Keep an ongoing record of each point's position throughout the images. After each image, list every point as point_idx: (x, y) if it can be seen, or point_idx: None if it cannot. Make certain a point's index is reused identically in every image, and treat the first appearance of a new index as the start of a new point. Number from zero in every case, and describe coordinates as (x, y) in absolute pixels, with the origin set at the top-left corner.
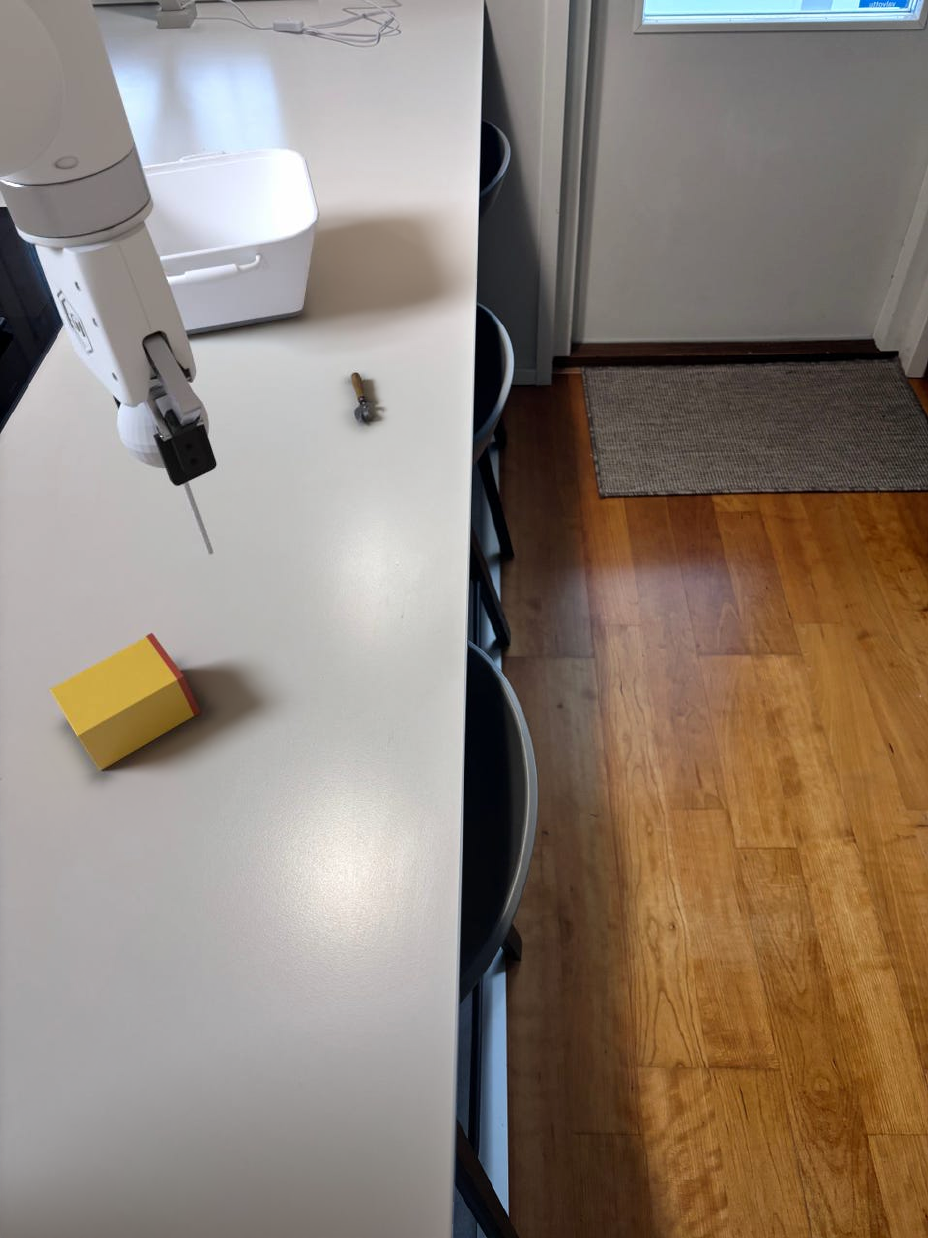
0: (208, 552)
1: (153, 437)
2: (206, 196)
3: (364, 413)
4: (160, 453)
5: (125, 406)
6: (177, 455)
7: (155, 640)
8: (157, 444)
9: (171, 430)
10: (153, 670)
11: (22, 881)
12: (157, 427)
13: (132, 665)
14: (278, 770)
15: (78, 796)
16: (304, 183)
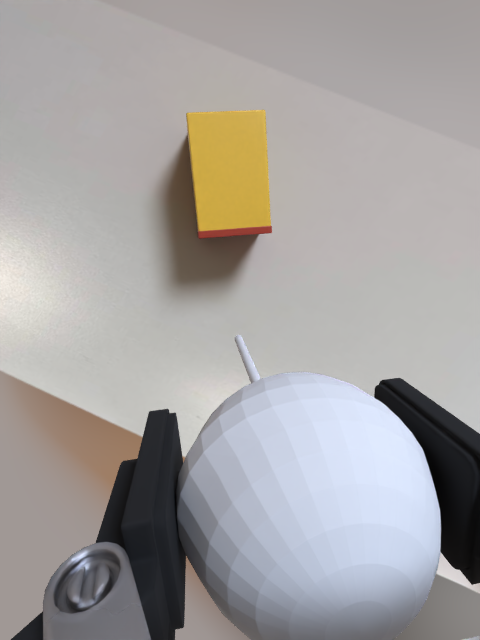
0: (236, 337)
1: (200, 488)
2: None
3: None
4: (154, 466)
5: (353, 498)
6: (121, 499)
7: (259, 231)
8: (140, 497)
9: (42, 633)
10: (224, 215)
11: (107, 17)
12: (120, 581)
13: (243, 199)
14: (103, 270)
15: (172, 103)
16: None
